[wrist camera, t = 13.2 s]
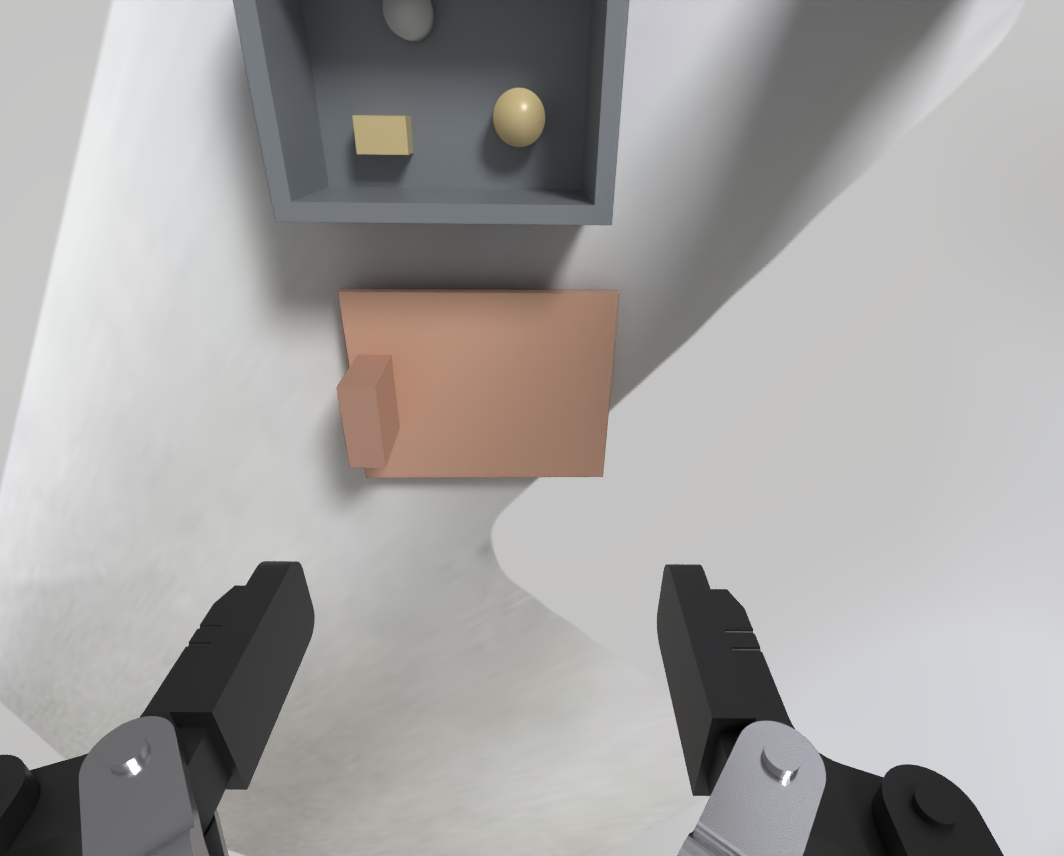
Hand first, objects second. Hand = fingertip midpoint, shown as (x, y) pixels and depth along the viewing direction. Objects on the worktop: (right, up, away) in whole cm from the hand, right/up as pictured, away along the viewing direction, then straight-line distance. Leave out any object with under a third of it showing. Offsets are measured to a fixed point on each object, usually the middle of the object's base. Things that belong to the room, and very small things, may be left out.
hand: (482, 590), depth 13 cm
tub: (-4, +25, +22) cm, 33 cm away
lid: (-3, +7, +32) cm, 33 cm away
